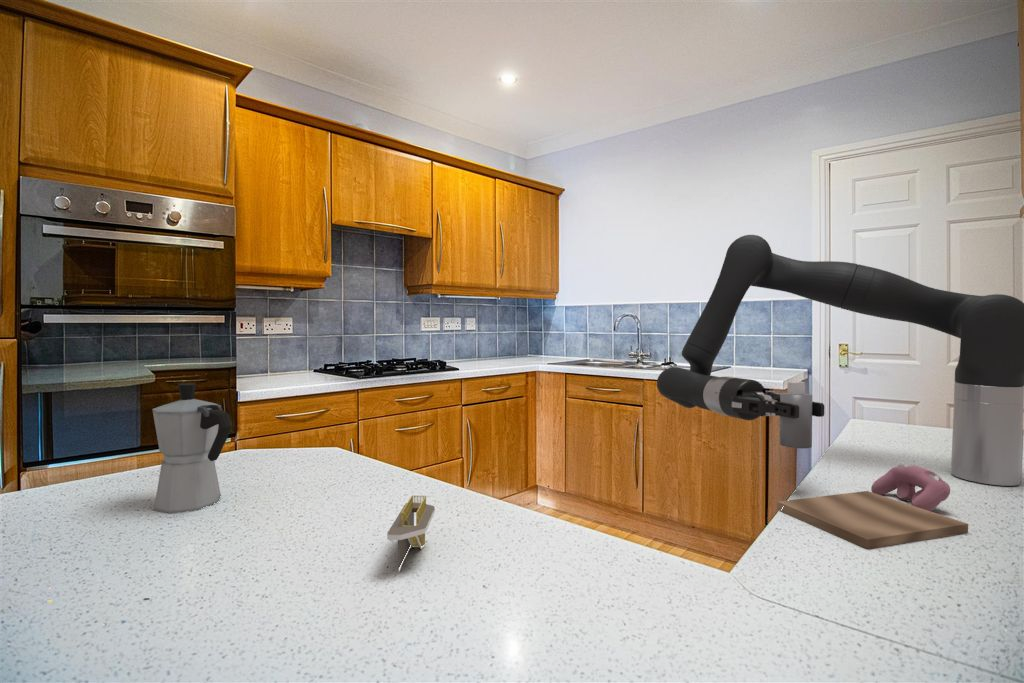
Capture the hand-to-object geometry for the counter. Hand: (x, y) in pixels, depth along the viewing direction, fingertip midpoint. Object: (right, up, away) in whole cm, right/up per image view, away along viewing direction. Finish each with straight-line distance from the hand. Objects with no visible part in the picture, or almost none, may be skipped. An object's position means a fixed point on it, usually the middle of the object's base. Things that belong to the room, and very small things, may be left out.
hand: (809, 411), depth 82 cm
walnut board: (+3, -14, -9) cm, 17 cm away
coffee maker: (-95, -13, -5) cm, 96 cm away
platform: (-59, -15, -22) cm, 65 cm away
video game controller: (+14, -14, -2) cm, 20 cm away
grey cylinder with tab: (-1, -6, +3) cm, 7 cm away
